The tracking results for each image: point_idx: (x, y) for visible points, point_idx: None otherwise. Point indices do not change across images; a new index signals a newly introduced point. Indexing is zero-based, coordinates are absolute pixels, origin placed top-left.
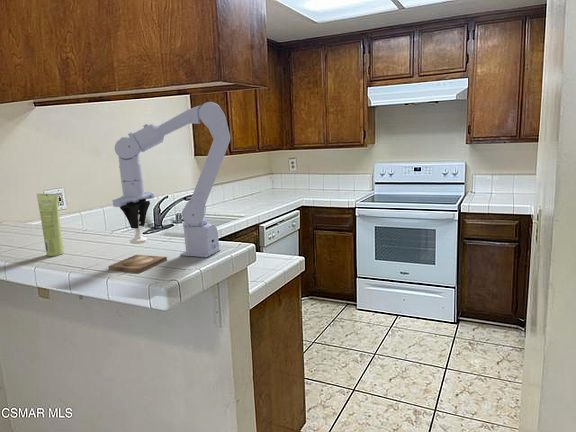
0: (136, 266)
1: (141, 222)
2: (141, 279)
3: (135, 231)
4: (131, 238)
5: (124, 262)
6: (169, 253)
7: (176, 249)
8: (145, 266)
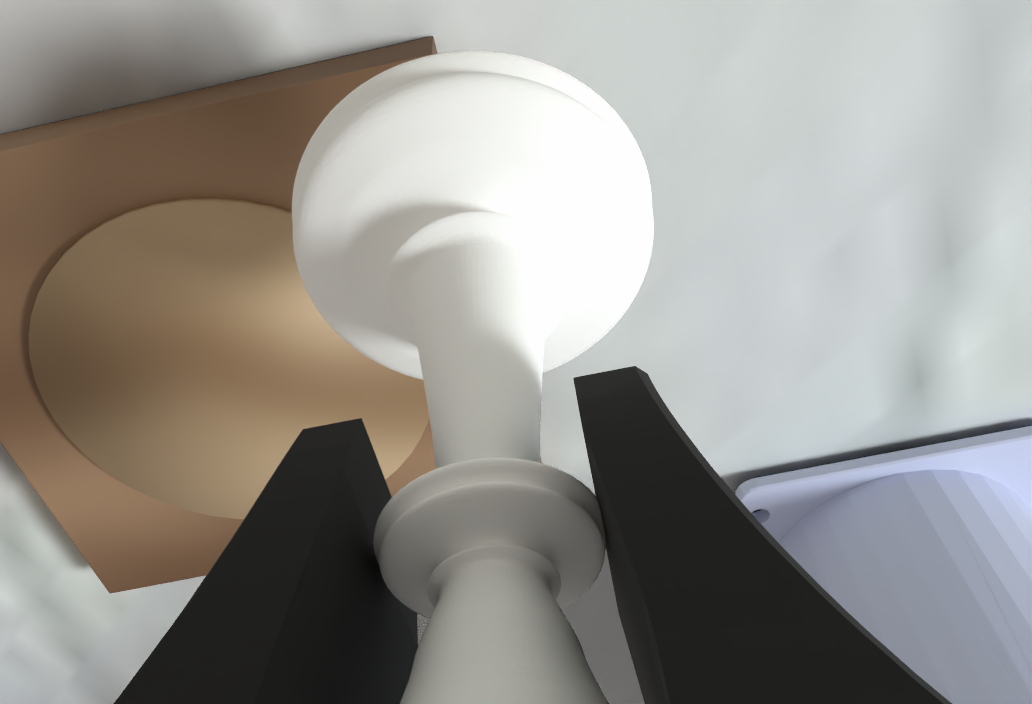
0: (121, 507)
1: (613, 575)
2: (41, 678)
3: (424, 363)
4: (386, 135)
5: (69, 288)
6: (794, 299)
7: (997, 234)
8: (192, 573)
